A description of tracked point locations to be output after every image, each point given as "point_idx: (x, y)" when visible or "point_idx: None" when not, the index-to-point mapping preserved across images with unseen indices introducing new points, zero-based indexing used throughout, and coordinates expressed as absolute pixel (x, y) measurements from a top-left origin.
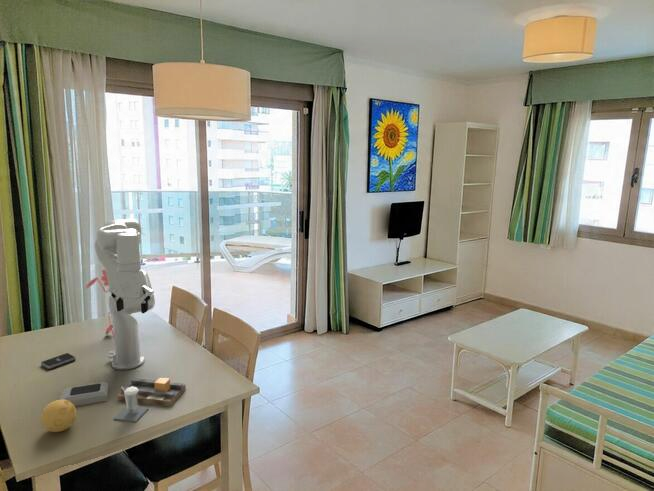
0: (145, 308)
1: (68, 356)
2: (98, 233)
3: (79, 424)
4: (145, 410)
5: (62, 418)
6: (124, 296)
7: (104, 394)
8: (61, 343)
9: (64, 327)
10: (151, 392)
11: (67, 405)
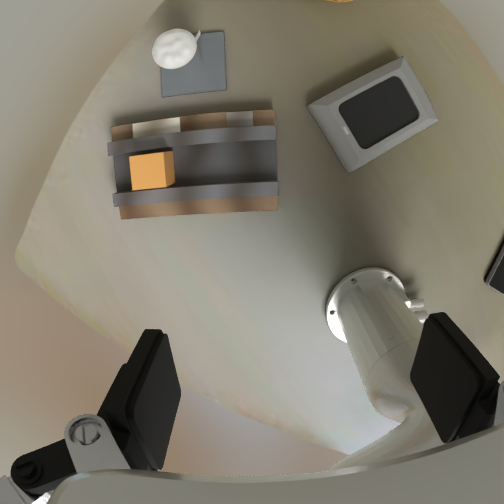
0: (118, 375)
1: (500, 282)
2: None
3: (298, 4)
4: (162, 83)
5: None
6: (421, 477)
7: (316, 103)
8: None
9: None
10: (169, 133)
11: None
